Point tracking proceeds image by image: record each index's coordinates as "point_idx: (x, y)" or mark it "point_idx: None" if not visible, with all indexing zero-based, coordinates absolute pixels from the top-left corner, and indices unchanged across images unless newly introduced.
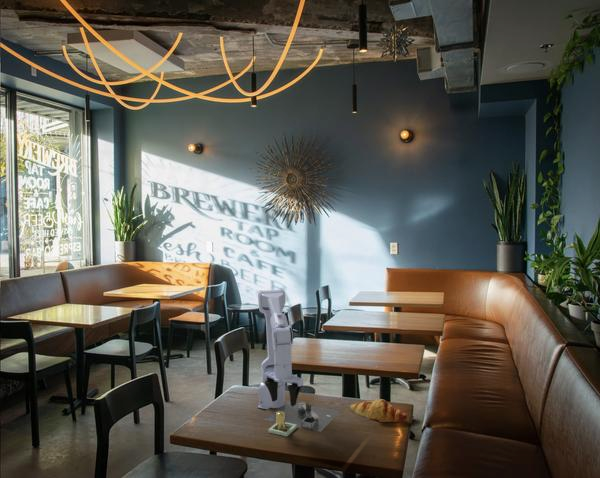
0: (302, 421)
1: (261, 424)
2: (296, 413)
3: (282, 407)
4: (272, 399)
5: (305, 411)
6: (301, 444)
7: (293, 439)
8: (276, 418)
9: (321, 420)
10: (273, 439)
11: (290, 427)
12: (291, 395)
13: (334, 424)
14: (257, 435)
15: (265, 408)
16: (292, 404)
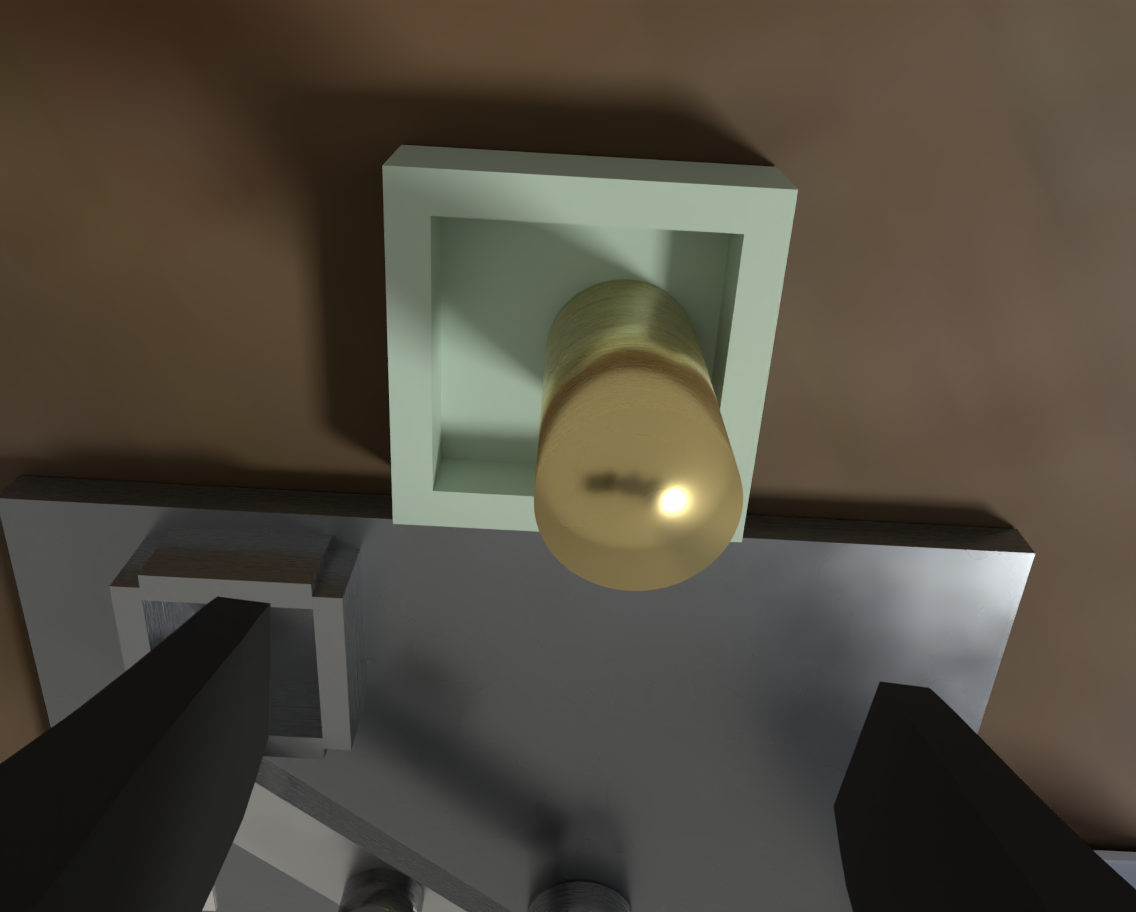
0: (316, 601)
1: (1029, 464)
2: (619, 845)
3: None
4: (933, 716)
5: (436, 865)
6: (83, 72)
7: (304, 189)
8: (692, 384)
9: None
10: (626, 53)
11: (501, 470)
12: (7, 829)
13: None
14: (970, 85)
15: (1116, 857)
16: (185, 624)
